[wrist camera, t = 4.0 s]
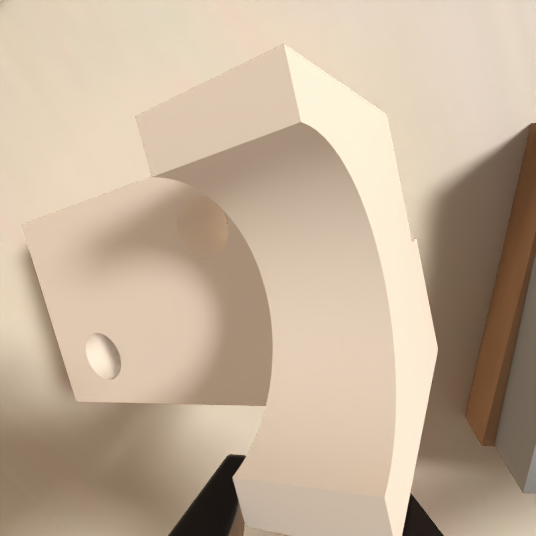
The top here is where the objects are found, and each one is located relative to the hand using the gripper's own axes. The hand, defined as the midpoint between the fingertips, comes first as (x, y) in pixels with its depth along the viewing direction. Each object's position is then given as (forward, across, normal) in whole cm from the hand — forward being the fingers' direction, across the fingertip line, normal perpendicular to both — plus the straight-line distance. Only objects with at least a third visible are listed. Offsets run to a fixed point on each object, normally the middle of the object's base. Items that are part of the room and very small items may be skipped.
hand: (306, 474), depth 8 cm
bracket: (+8, +2, -2) cm, 8 cm away
